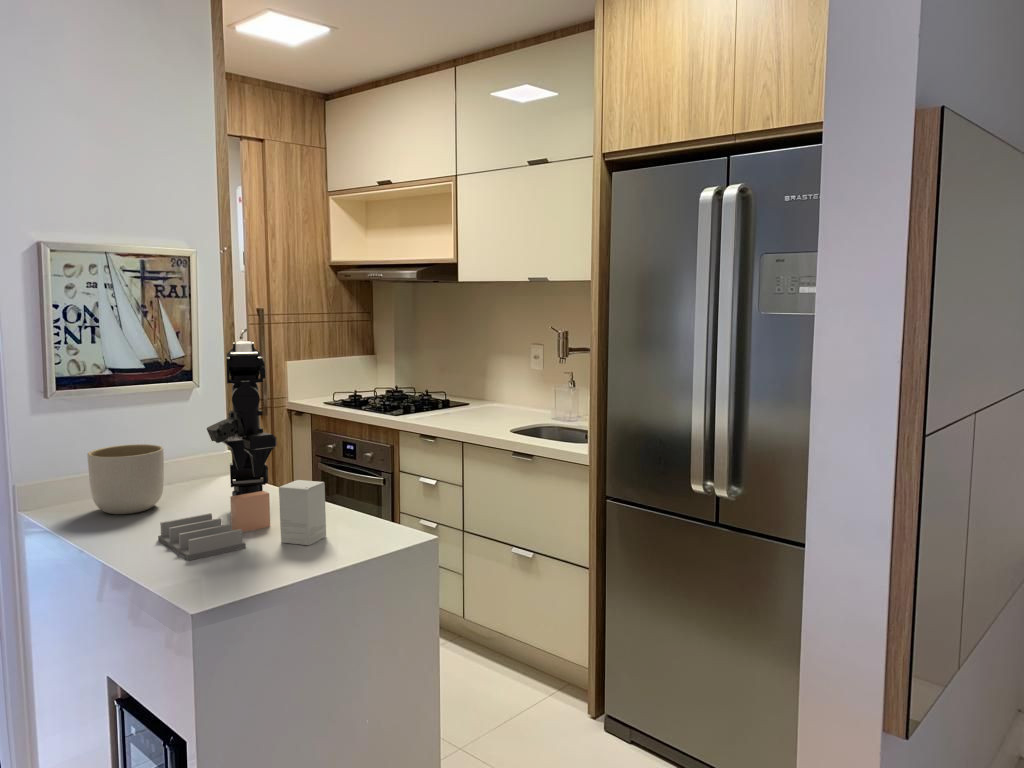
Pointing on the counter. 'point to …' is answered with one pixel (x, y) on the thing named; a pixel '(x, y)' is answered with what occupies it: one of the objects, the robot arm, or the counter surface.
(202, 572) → the counter surface
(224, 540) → the dish rack
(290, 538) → the supplement box
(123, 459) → the planter
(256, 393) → the robot arm
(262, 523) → the tall clay brick
